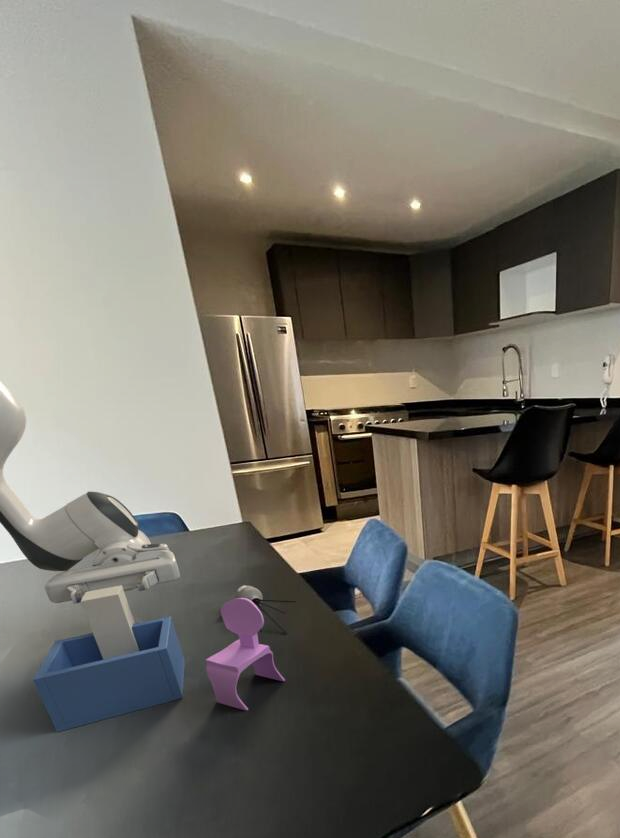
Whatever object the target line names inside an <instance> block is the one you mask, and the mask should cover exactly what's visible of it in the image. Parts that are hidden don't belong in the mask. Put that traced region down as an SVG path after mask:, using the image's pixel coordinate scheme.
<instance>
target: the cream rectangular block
mask: <svg viewBox="0 0 620 838" xmlns="http://www.w3.org/2000/svg"><path fill="white" fill-rule="evenodd" d="M80 605H81V607H82V609H83V612H84V614H85V617H86V619H87V623H88V624H89V627H90V630H91V633H93V635H94V637H95V640H96V642H97V645H98V647H99V650H100V653H101V655H102V658H103V660H105V659H109V658H113V657H118V656H122V655H126V654H130V653H135V652H139V648H138V645H137V642H136V639H135V636H134V634H133V631H132V625H133V624H136V621H135V619H134V617H133V613H132V611H131V607H130V605H129V602H128V599H127V596H126V593H125V591H124V590H123V588H122V585H120V586H115V587H110V588H104V589H99V590H94V591H89V592H86V593H85V594H84V596H83V598H82V600H81V603H80Z"/></svg>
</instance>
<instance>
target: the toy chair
mask: <svg viewBox="0 0 620 838" xmlns="http://www.w3.org/2000/svg"><path fill="white" fill-rule="evenodd" d="M222 605H223V604H222ZM222 605H221V607H220V616H221V618H222V621H223V623H224V626H225V627H226V630H228V631H230V632H231V633H233V634H235V635H237V637H238V639H237V640H235V641H234V642H232V643H230V644H229V645H228V646H227V647H225V648H223V649H222V650H220V651H218V652H217V653H215V654H212V655H211V656H209V657H208V658H206V659H205V663H206V667H205V672H206V675H207V677H208V680H209V682H210V684H211V687H212V690H213V692H214V696H215V702H216V703H218V704H222V705H225V706H228V707H232V708H236V709H239V710H243V711H247V712H248V711H249V707H248V706H246V704H245V703H244V702H243V701H242V699H241V697H240V696H239V694H238V692H237V686H238V681H239V678H240V675H241V673H242V672H244V670H246V669H247V668H248V667H249V666H250V665H252V666H253V671H254V675H256V676H259V677H264V678H267V679H272V680H275V681H280V682H285V681H286V679H285V678H284V677H283V675H282V674H281V673H280V672H279V670H278V669H277V667H276V665H275V662H274V652H273V651H272V650H271V648H270V647H271V646H270V645H266V644H261V643H259V636H258V633H259V632H260V629H261V630H262V628H263V627H264V625H265V619H264V615H263V614H262V611H261V609H260V608H259V607H257V606H256V605H255V604H254V603H253V602H252V601H251V600H249V599H247V598H237V599H236V598H232V599H230V600H228V601H226V602H225V603H224V605H223V606H222Z"/></svg>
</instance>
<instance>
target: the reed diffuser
mask: <svg viewBox="0 0 620 838" xmlns="http://www.w3.org/2000/svg"><path fill="white" fill-rule="evenodd" d="M237 598H247V599H249V600H251V601H252V602H253V603H254V604H255V605H256V606H257V607H258V609H259V610H260V611H261V612H263V613H264V614H265V615H266V616H267V617H268V618H269V619H270V620H272V622H274V624H275V625H277V627H279V628H280V629H281V630H282V631H283V632H284V633H285V634H286V633H287V634H288V632H287V630H286V629H284V628H283V627H282V626H281V625H280V624H279V623H278V622H277V621H276V620H275V619H274V618H273V617H272V616H270V614H268V612H267V611H266V610H264V608H263V607H261V605H264V606H266V607H268V608H270V609H272V610H274V611H277V612H280V613H283V614H286V612H285V611H283V610H281V609H279V608H276V607H274V606H272V605H269V604H267V603H264V602H274V603H276V602H277V603H279V602H280V603H296V600H279V599H263V594H262V592H261V591H260V590H259V589H258V588H256V587H254V586H252V585H245V584H244V585H241V586H240V587H239V588H238V589H236V593H235V599H237ZM224 604H225V603H224ZM224 604H222V605H221V607H222V606H223V605H224ZM259 632H260V633H261V632H262V628H261V629H260V630H259Z"/></svg>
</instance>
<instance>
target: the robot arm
mask: <svg viewBox="0 0 620 838" xmlns="http://www.w3.org/2000/svg"><path fill="white" fill-rule="evenodd" d="M26 426H27V416H26V412H25V408H24V407H23V405H22V404H21V402H20V401H19V399H18V398H17V397H16V396H15V395H14V393H12V391H11V390H10V389H9V388H8V387H7V386H6V385H5V384H4V383H3V381H2V380H0V524H1V526H2V527H3V528H4V529H5V530H6V532H7V533H8V535H10V537H11V538H12V539H13V541H14V542H15V544H16V545H17V547H18V549H19V550H20V552H21V553H22V555H24V557H25V558H26V559H27V560H28V561H29V562H30V563H31V565H33V566H34V567H36V568H38V569H40V570H43V571H48V572H49V571H50V572H59V573H57V574H56V575H54V576H52V578H50V579H49V580H48V581H47V582H45V584H44V591H45V593H46V595H47V597H48V600H49V602H51V603H54V604H61V603H62V604H63V603H67V602H72V603H73V605H75V604H76V605H77V604H81V600H82V598H83V596H84V594H85V593H86V592H89V591H94V590H99V589H104V588H110V587H115V586H120V585H122V588H123V590H124V592H129V591H133V590H135V589H137V590H138V592H142V591H147V590H149V589H150V587H152V586H155V585H159V584H165V583H170V582H174V581H177V580H179V579H180V578H181V573H180V569H179V565H178V562H177V559H176V556H175V554H174V552H172V551H171V550H170V548H169V546H168V544H167V543H151V541H150V539H149V537H148V536H147V535H146V534H145V533H144V532H143V531H141V530H140V529H139V523H138V521H137V519H136V517H135V516H134V515H133V513H132V512H131V510H129V508H128V507H127V506H125V505H124V504H123V503H122V502H121V501H120V500H119V499H117V498H115V497H114V496H112V495H109V494H107V493H103V492H98V491H87V492H85V493H84V494H82V495H80V496H78V497H76V498H75V499H73V500H71V501H70V502H68V503H66V504H65V505H64V506H62V507H60V508H59V509H57V510H55V511H52V513H50V514H48V515H46V516H45V517H43V518H36V517H35V516H33V515H32V513H31V512H30V511H29V510H28V509H27V507H26V506H25V504H24V503H23V502H22V501H21V499H20V498H19V497H18V496H17V494H16V493H15V492H14V491H13V489H12V488H11V486H9V484H8V483H7V482H6V480H5V477H4V467H5V464H6V462H7V460H8V458H9V457H10V455H11V454H12V452H13V451H14V450H15V448H16V447H17V446H18V444H19V443H20V441H21V439H22V438H23V436H24V433H25V431H26ZM97 550H99V552H98V553H97V555H96V556H95V558H94V560H93V563H92V566H87V567H80V568H76V569H72V568H73V567H74V566H76V565H78V564H79V563H80V562H81V561H83V559H85V558H87V556H89V555H91V554H93V553H94V552H97Z"/></svg>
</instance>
